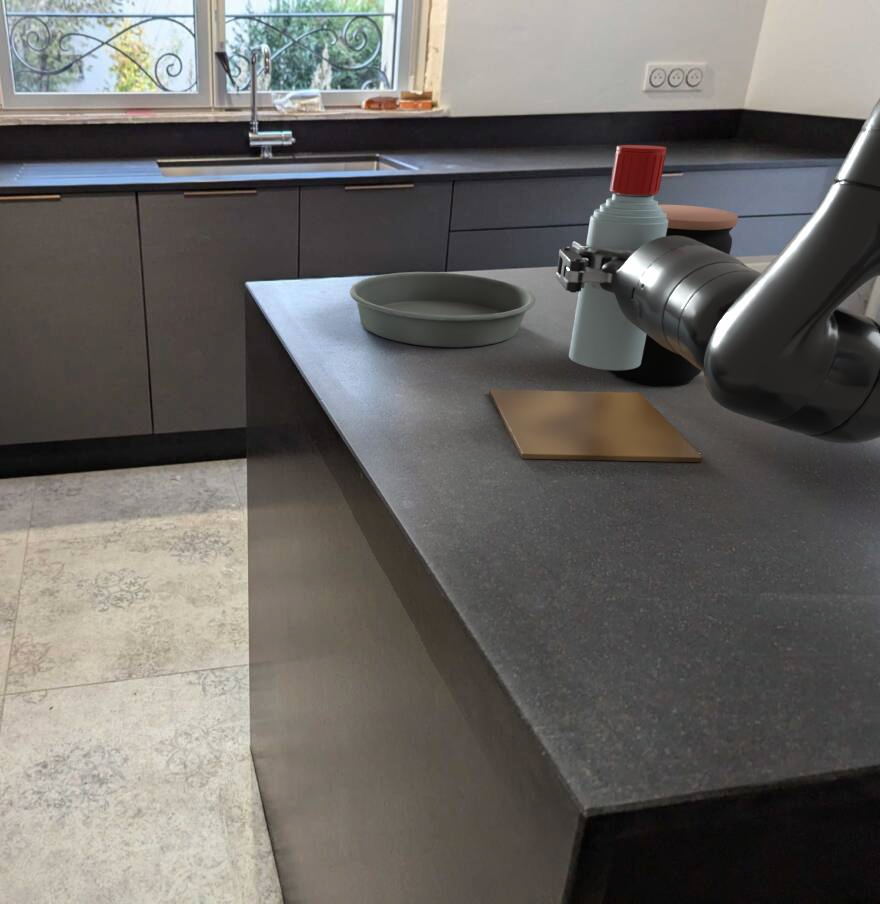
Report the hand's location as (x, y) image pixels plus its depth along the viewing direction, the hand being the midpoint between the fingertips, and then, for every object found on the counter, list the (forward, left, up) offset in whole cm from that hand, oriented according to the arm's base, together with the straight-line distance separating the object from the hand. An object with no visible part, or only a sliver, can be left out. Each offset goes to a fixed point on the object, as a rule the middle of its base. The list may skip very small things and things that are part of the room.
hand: (613, 253), depth 76 cm
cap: (0, +2, +6) cm, 6 cm away
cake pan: (+10, -32, -17) cm, 38 cm away
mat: (0, +2, -17) cm, 17 cm away
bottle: (0, +3, -9) cm, 10 cm away
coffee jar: (-12, -14, -17) cm, 25 cm away
